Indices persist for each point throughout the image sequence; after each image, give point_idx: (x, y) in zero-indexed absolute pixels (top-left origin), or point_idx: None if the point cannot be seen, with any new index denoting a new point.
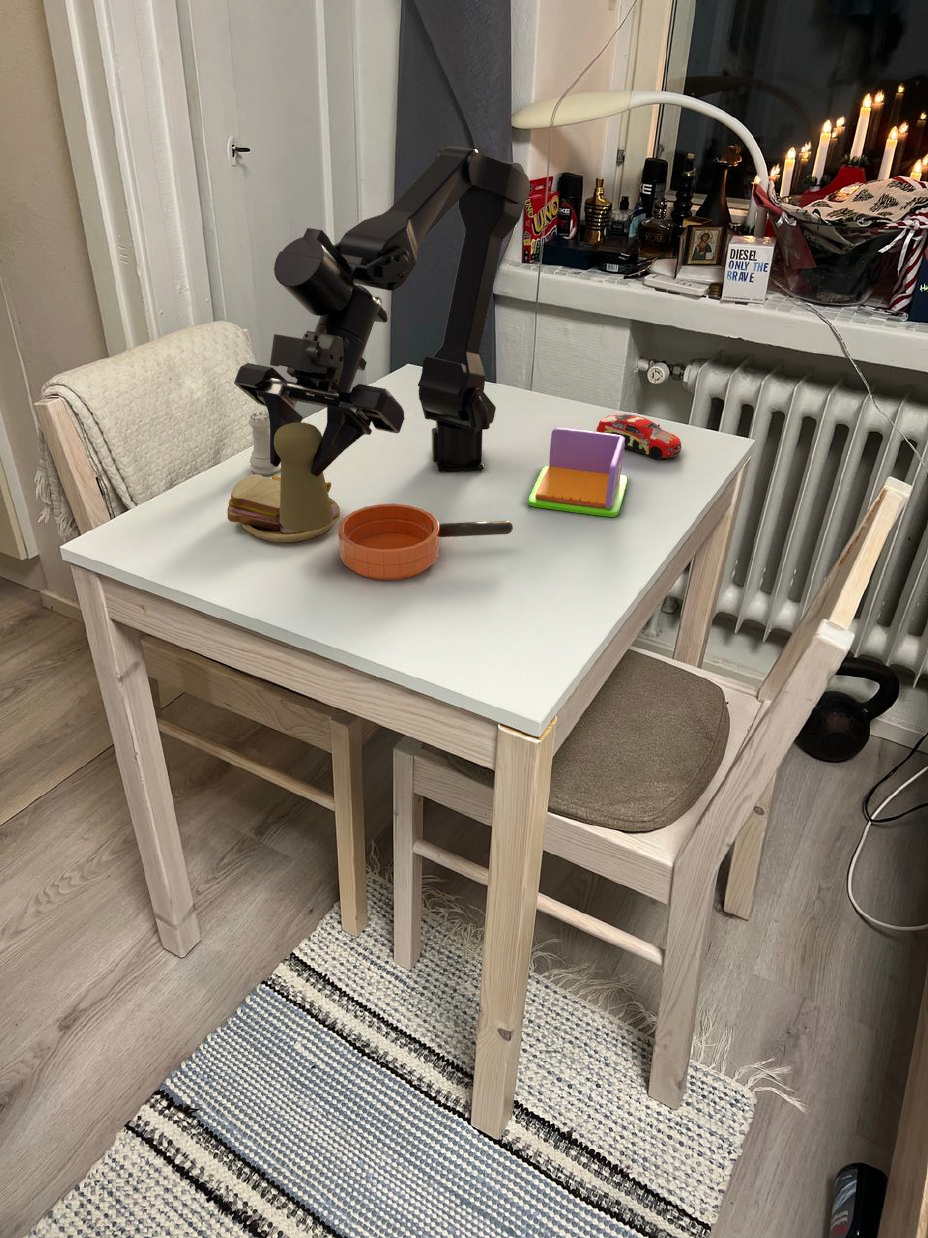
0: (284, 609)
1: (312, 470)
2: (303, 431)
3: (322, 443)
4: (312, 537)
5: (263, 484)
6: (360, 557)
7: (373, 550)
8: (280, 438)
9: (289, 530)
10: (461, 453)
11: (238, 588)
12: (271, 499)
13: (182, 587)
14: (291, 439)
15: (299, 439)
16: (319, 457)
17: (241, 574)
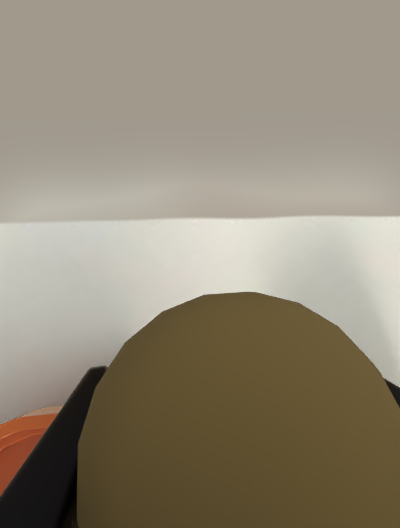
0: (124, 253)
1: (98, 370)
2: (175, 453)
3: (43, 505)
4: None
5: None
6: (48, 411)
7: (2, 426)
8: (276, 303)
9: None
10: None
11: (224, 259)
12: None
13: (289, 220)
14: (193, 317)
15: (143, 351)
16: (60, 421)
17: (251, 291)
